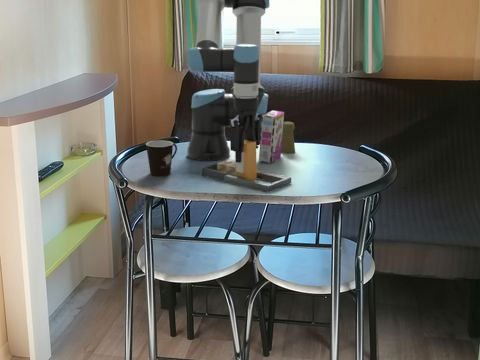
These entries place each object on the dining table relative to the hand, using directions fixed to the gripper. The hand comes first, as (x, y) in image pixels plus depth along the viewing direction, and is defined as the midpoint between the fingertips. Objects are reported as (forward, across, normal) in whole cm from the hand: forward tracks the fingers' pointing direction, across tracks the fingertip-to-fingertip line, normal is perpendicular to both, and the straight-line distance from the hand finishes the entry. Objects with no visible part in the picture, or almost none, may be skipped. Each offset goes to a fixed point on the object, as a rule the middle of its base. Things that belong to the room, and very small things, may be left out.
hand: (245, 170), depth 212 cm
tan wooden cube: (+3, 0, +4) cm, 5 cm away
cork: (+3, +38, +10) cm, 39 cm away
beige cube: (+3, 0, +8) cm, 8 cm away
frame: (+3, 0, +8) cm, 9 cm away
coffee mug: (+3, -11, +24) cm, 27 cm away
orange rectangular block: (+3, 0, -1) cm, 3 cm away
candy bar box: (+3, +25, +8) cm, 27 cm away
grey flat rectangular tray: (+3, 0, -5) cm, 6 cm away
